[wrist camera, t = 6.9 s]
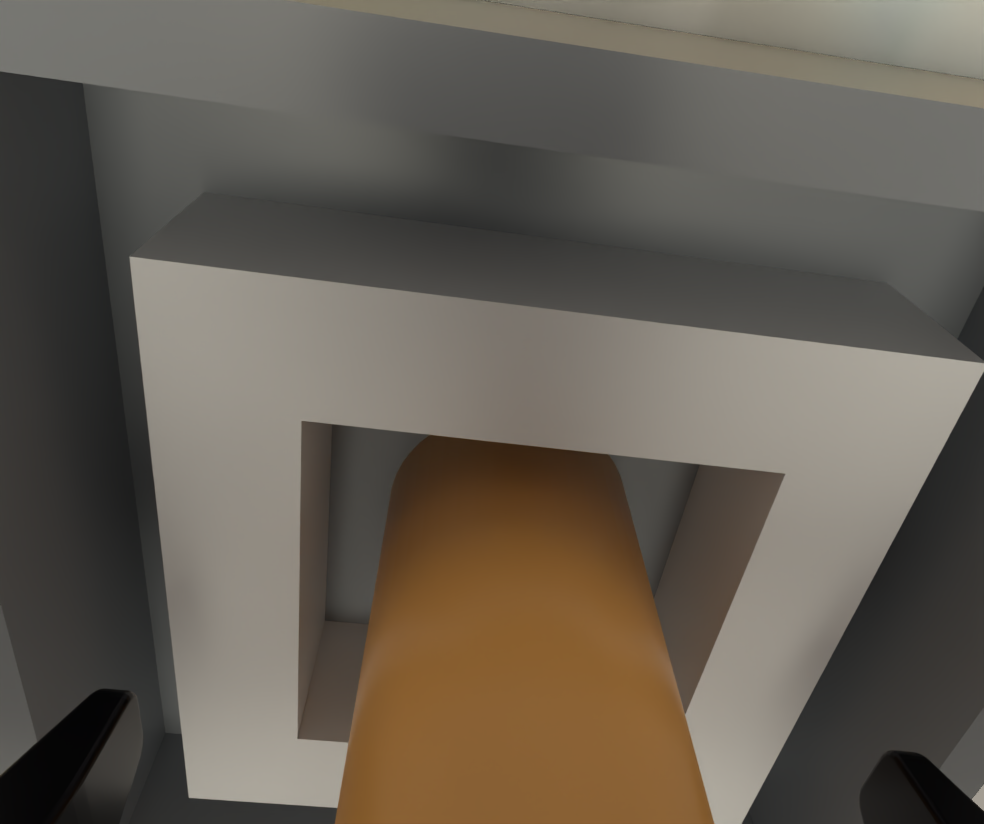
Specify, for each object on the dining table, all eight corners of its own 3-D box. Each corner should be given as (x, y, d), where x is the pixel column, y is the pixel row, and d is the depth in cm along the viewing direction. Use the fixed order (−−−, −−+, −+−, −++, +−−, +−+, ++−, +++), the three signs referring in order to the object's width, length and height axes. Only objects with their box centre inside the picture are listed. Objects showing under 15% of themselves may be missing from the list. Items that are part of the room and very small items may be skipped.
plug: (598, 606, 14) (709, 1223, 7) (381, 586, 14) (284, 1211, 7) (649, 425, 12) (874, 1040, 5) (398, 396, 12) (282, 1013, 5)
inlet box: (750, 766, 18) (824, 988, 14) (144, 721, 17) (44, 948, 13) (1092, 96, 10) (1455, 181, 7) (26, -72, 9) (-300, -91, 5)
